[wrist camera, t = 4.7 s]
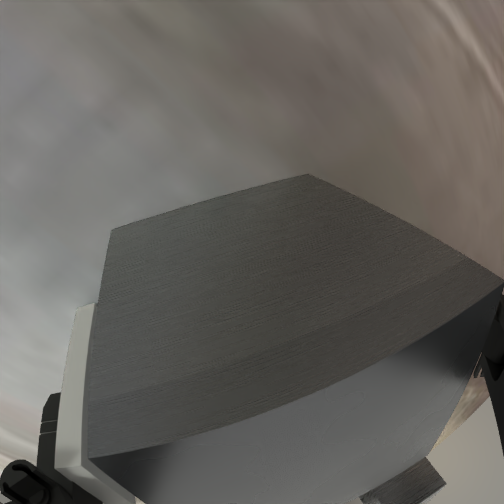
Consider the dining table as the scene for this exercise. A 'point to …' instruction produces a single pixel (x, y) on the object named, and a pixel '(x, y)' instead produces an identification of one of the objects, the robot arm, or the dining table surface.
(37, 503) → the robot arm
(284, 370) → the dark grey cube
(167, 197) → the dining table surface
